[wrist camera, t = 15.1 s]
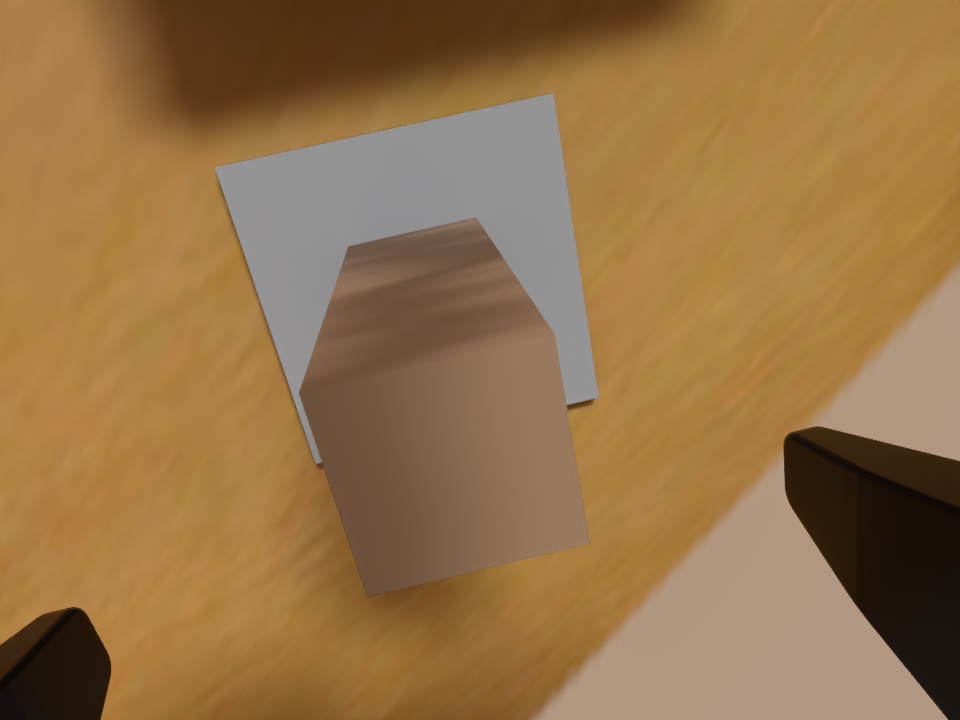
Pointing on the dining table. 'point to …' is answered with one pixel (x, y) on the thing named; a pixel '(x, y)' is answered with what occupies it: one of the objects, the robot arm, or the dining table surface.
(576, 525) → the brown rectangular block
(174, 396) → the dining table surface
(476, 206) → the mat
